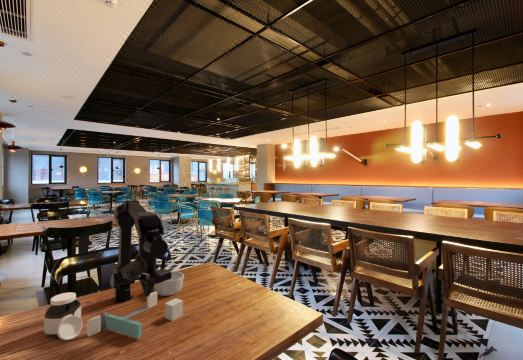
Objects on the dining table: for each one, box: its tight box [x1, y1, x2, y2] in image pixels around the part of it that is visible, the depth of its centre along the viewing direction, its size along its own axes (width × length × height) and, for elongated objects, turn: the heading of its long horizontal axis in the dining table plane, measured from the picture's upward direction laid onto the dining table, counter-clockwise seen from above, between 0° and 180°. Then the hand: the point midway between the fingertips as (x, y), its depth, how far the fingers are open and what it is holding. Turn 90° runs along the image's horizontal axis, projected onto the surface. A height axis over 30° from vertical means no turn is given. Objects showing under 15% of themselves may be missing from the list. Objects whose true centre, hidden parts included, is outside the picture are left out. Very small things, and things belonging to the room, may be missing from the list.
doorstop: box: [164, 297, 184, 322], centre depth 98 cm, size 4×5×6 cm
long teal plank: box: [105, 313, 142, 339], centre depth 86 cm, size 14×1×4 cm, turn 68°
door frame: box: [86, 290, 158, 337], centre depth 96 cm, size 2×26×5 cm, turn 149°
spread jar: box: [43, 291, 83, 341], centre depth 87 cm, size 12×11×12 cm
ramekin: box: [153, 270, 185, 297], centre depth 120 cm, size 13×13×7 cm
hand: (147, 296), depth 90 cm, fingers closed
